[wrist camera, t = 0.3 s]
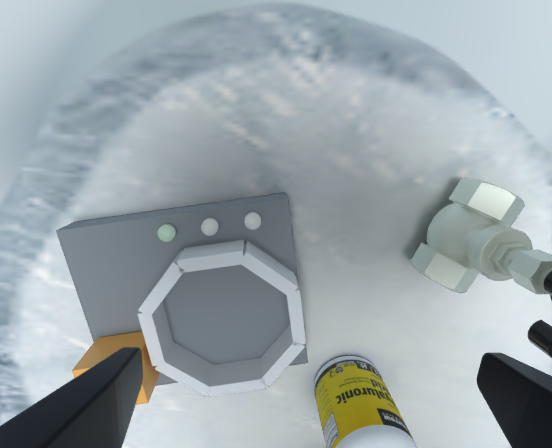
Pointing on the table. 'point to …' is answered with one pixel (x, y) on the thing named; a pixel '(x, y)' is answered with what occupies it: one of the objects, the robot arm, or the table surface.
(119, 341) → the orange block
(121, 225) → the octagon socket plate
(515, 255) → the valve
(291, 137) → the table surface
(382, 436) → the supplement bottle
